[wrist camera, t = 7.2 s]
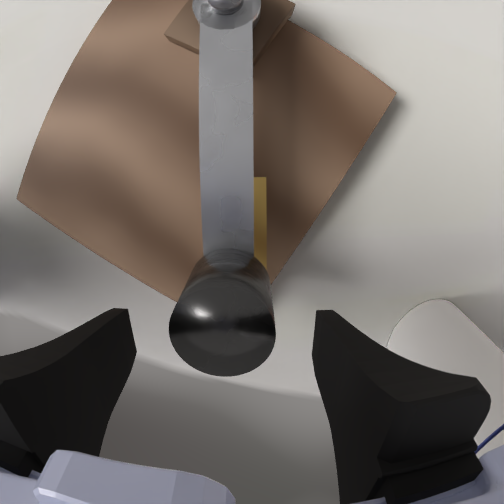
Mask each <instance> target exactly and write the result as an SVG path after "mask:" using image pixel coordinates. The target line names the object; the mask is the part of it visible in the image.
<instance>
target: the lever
mask: <svg viewBox="0 0 504 504" xmlns="http://www.w3.org/2000/svg"><path fill="white" fill-rule="evenodd" d="M192 8H193V12H194V15H195V17H196V19H197V21H198V23H199V25H200V41H199V156H200V191H201V217H202V238H203V257H202V258H201V259H200V260H199V261H198V262H197V263H196V265H195V266H194V268H193V270H192V272H191V274H190V276H189V278H188V280H187V283H186V285H185V287H184V289H183V291H182V293H181V295H180V297H179V300H178V302H177V304H176V306H175V308H174V310H173V313H172V315H171V318H170V322H169V335H170V340H171V342H172V345H173V347H174V349H175V351H176V352H177V353H178V355H179V356H180V357H181V358H182V359H183V360H184V361H185V362H186V363H187V364H189V365H190V366H192V367H193V368H195V369H197V370H199V371H201V372H204V373H207V374H210V375H215V376H237V375H241V374H244V373H247V372H250V371H252V370H254V369H255V368H257V367H258V366H260V365H261V364H262V363H263V362H264V361H265V360H266V359H267V358H268V357H269V355H270V354H271V352H272V350H273V347H274V344H275V338H276V330H275V321H274V312H273V303H272V294H271V285H270V279H269V275H268V272H267V271H266V269H265V267H264V266H263V264H262V263H261V262H260V261H259V260H258V259H257V258H256V257H254V164H253V28H254V27H255V26H256V24H257V23H258V21H259V18H260V10H261V0H193V3H192Z"/></svg>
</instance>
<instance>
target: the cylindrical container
mask: <svg viewBox="0 0 504 504" xmlns="http://www.w3.org/2000/svg"><path fill="white" fill-rule="evenodd" d="M387 349H388V350H390V351H392V352H394V353H396V354H398V355H400V356H402V357H404V358H406V359H408V360H411V361H413V362H416V363H419V364H421V365H424V366H427V367H430V368H433V369H436V370H440V371H444V372H448V373H452V374H458V375H464V376H470V377H476V378H477V379H478V380H479V381H480V383H481V384H482V385H483V387H484V388H485V389H486V390H487V392H488V393H489V394H490V397H491V406H490V410H489V413H488V415H487V417H486V419H485V421H484V422H483V424H482V426H481V427H480V429H479V431H478V432H477V434H476V436H475V437H474V440H475V442H476V443H477V445H478V448H477V450H476V451H474V452H475V454H476V456H477V458H478V459H479V458H480V457H481V456H482V455H483V454H485V453H487V452H488V451H490V450H493V449H495V448H497V447H499V446H502V445H504V353H503V352H502V351H501V350H500V349H499V348H498V347H497V346H496V345H495V344H494V343H493V342H492V341H491V340H490V339H489V338H488V337H487V336H486V335H485V334H484V333H483V332H482V331H481V330H480V329H479V328H478V327H477V326H476V325H475V324H474V323H473V322H472V321H471V320H470V319H469V318H468V317H467V316H466V315H465V314H464V313H463V312H462V311H460V310H459V309H458V308H457V307H456V306H455V305H454V304H453V303H452V302H449V301H447V300H443V299H434V300H430V301H426V302H424V303H422V304H419V305H418V306H416V307H415V308H413V309H412V310H410V311H409V312H408V313H407V314H406V315H405V316H403V318H402V319H401V320H400V321H399V322H398V323H397V325H396V327H395V328H394V330H393V331H392V334H391V336H390V338H389V342H388V347H387Z"/></svg>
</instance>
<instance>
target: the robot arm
mask: <svg viewBox="0 0 504 504" xmlns="http://www.w3.org/2000/svg"><path fill="white" fill-rule="evenodd" d="M136 353H137V351H136V346H135V342H134V337H133V332H132V328H131V323H130V318H129V312H128V309H120V308H113V309H111V310H108V311H106V312H104V313H102V314H101V315H99V316H97V317H95V318H93V319H92V320H90V321H88V322H86V323H84V324H83V325H81V326H79V327H77V328H75V329H74V330H72V331H70V332H68V333H66V334H64V335H62V336H60V337H58V338H56V339H54V340H52V341H49V342H47V343H44V344H42V345H39V346H37V347H34V348H30V349H27V350H24V351H21V352H17V353H14V354H10V355H5V356H0V504H236V502H235V498H234V496H233V495H232V494H231V493H230V491H229V490H228V489H227V487H225V486H224V485H222V484H221V483H218V482H216V481H214V480H212V479H210V478H208V477H206V476H203V475H198V474H193V473H189V472H184V471H179V470H171V469H163V468H156V467H149V466H143V465H137V464H131V463H125V462H120V461H115V460H110V459H106V458H101V457H99V454H100V450H101V446H102V442H103V438H104V434H105V431H106V428H107V424H108V421H109V419H110V416H111V413H112V411H113V409H114V407H115V405H116V403H117V400H118V398H119V396H120V394H121V392H122V390H123V388H124V386H125V383H126V381H127V379H128V377H129V374H130V372H131V369H132V366H133V363H134V360H135V356H136ZM312 359H313V365H314V372H315V377H316V380H317V384H318V387H319V390H320V394H321V397H322V400H323V403H324V407H325V409H326V413H327V416H328V420H329V423H330V428H331V433H332V439H333V445H334V451H335V459H336V466H337V475H338V485H339V495H340V504H504V445H502V446H499V447H497V448H495V449H493V450H490V451H488V452H487V453H485V454H483V455H482V456H481V457H480V458H479V459H478V458H477V456H476V454H475V452H474V451H476V450H477V448H478V445H477V443H476V442H475V440H474V437H475V436H476V434H477V432H478V431H479V429H480V427H481V426H482V424H483V422H484V421H485V419H486V417H487V415H488V413H489V410H490V406H491V397H490V394H489V393H488V392H487V390H486V389H485V388H484V387H483V385H482V384H481V383H480V381H479V380H478V379H477V378H476V377H470V376H464V375H458V374H452V373H448V372H444V371H440V370H436V369H433V368H430V367H427V366H424V365H421V364H419V363H416V362H413V361H411V360H408V359H406V358H404V357H402V356H400V355H398V354H396V353H394V352H392V351H390V350H388V349H386V348H385V347H383V346H381V345H380V344H378V343H377V342H375V341H373V340H372V339H370V338H369V337H368V336H366V335H365V334H363V333H362V332H361V331H359V330H358V329H357V328H355V327H354V326H353V325H351V324H350V323H349V322H348V321H346V320H345V319H344V318H343V317H341V316H340V315H339V314H337V313H336V312H335V311H333V310H316V320H315V330H314V340H313V349H312Z"/></svg>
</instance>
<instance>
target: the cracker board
mask: <svg viewBox="0 0 504 504" xmlns="http://www.w3.org/2000/svg"><path fill="white" fill-rule="evenodd" d="M192 3H193V0H112V1H111V3H110V4H109V5H108V7H107V8H106V10H105V11H104V12H103V14H102V15H101V17H100V18H99V20H98V21H97V23H96V24H95V26H94V27H93V29H92V31H91V32H90V34H89V35H88V37H87V38H86V40H85V42H84V43H83V45H82V47H81V48H80V50H79V52H78V54H77V55H76V57H75V59H74V61H73V62H72V64H71V66H70V68H69V70H68V72H67V73H66V75H65V77H64V79H63V81H62V83H61V85H60V87H59V89H58V91H57V93H56V95H55V97H54V99H53V102H52V104H51V106H50V108H49V110H48V113H47V115H46V117H45V120H44V122H43V124H42V127H41V129H40V131H39V134H38V136H37V139H36V142H35V144H34V147H33V150H32V152H31V155H30V158H29V161H28V164H27V166H26V169H25V172H24V175H23V179H22V182H21V185H20V188H19V192H18V195H17V200H19V201H20V202H21V203H23V204H24V205H25V206H27V207H28V208H30V209H31V210H32V211H34V212H35V213H37V214H38V215H39V216H41V217H42V218H44V219H45V220H46V221H48V222H49V223H51V224H52V225H54V226H55V227H57V228H58V229H60V230H61V231H62V232H64V233H65V234H67V235H68V236H70V237H71V238H73V239H74V240H76V241H77V242H79V243H80V244H82V245H84V246H85V247H87V248H88V249H90V250H91V251H93V252H94V253H96V254H97V255H99V256H101V257H102V258H104V259H105V260H107V261H109V262H110V263H112V264H113V265H115V266H117V267H118V268H120V269H121V270H123V271H125V272H126V273H128V274H130V275H131V276H133V277H135V278H136V279H138V280H140V281H141V282H143V283H145V284H146V285H148V286H150V287H151V288H153V289H155V290H157V291H158V292H160V293H162V294H163V295H165V296H167V297H169V298H170V299H172V300H174V301H176V302H178V300H179V297H180V295H181V293H182V291H183V289H184V287H185V285H186V283H187V280H188V278H189V276H190V274H191V272H192V270H193V268H194V266H195V265H196V263H197V262H198V261H199V260H200V259H201V258H202V257H203V238H202V217H201V191H200V156H199V41H200V25H199V23H198V21H197V19H196V17H195V15H194V12H193V8H192ZM294 7H295V4H294V3H292V2H290V1H288V0H261V10H260V18H259V21H258V23H257V24H256V26H255V27H254V28H253V164H254V257H256V258H257V259H258V260H259V261H260V262H261V263H262V264H263V266H264V267H265V269H266V271H267V272H268V275H269V279H270V285H271V284H272V282H273V281H274V280H275V278H276V277H277V275H278V274H279V272H280V271H281V269H282V268H283V267H284V265H285V264H286V262H287V261H288V259H289V258H290V256H291V255H292V253H293V252H294V251H295V249H296V248H297V246H298V245H299V243H300V242H301V240H302V239H303V237H304V236H305V234H306V233H307V231H308V230H309V228H310V227H311V225H312V224H313V222H314V221H315V219H316V218H317V216H318V215H319V213H320V212H321V210H322V209H323V207H324V206H325V204H326V203H327V201H328V200H329V198H330V197H331V195H332V194H333V192H334V191H335V189H336V188H337V186H338V185H339V183H340V182H341V180H342V179H343V177H344V176H345V174H346V172H347V171H348V169H349V168H350V166H351V165H352V163H353V162H354V160H355V159H356V157H357V155H358V154H359V152H360V151H361V149H362V148H363V146H364V144H365V143H366V141H367V140H368V138H369V137H370V135H371V133H372V132H373V130H374V129H375V127H376V125H377V124H378V122H379V121H380V119H381V117H382V116H383V114H384V113H385V111H386V109H387V108H388V106H389V105H390V103H391V101H392V100H393V98H394V96H395V95H396V92H395V91H394V90H392V89H391V88H390V87H389V86H387V85H386V84H385V83H384V82H382V81H381V80H380V79H378V78H377V77H376V76H374V75H373V74H372V73H370V72H369V71H368V70H366V69H365V68H363V67H362V66H361V65H359V64H358V63H356V62H355V61H354V60H352V59H351V58H349V57H348V56H346V55H345V54H343V53H342V52H340V51H339V50H337V49H336V48H334V47H333V46H331V45H329V44H328V43H326V42H325V41H323V40H321V39H320V38H318V37H317V36H315V35H313V34H312V33H310V32H308V31H306V30H305V29H303V28H301V27H299V26H298V25H296V24H294V23H292V22H291V21H289V20H288V19H289V18H290V17H291V15H292V14H293V10H294Z"/></svg>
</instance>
